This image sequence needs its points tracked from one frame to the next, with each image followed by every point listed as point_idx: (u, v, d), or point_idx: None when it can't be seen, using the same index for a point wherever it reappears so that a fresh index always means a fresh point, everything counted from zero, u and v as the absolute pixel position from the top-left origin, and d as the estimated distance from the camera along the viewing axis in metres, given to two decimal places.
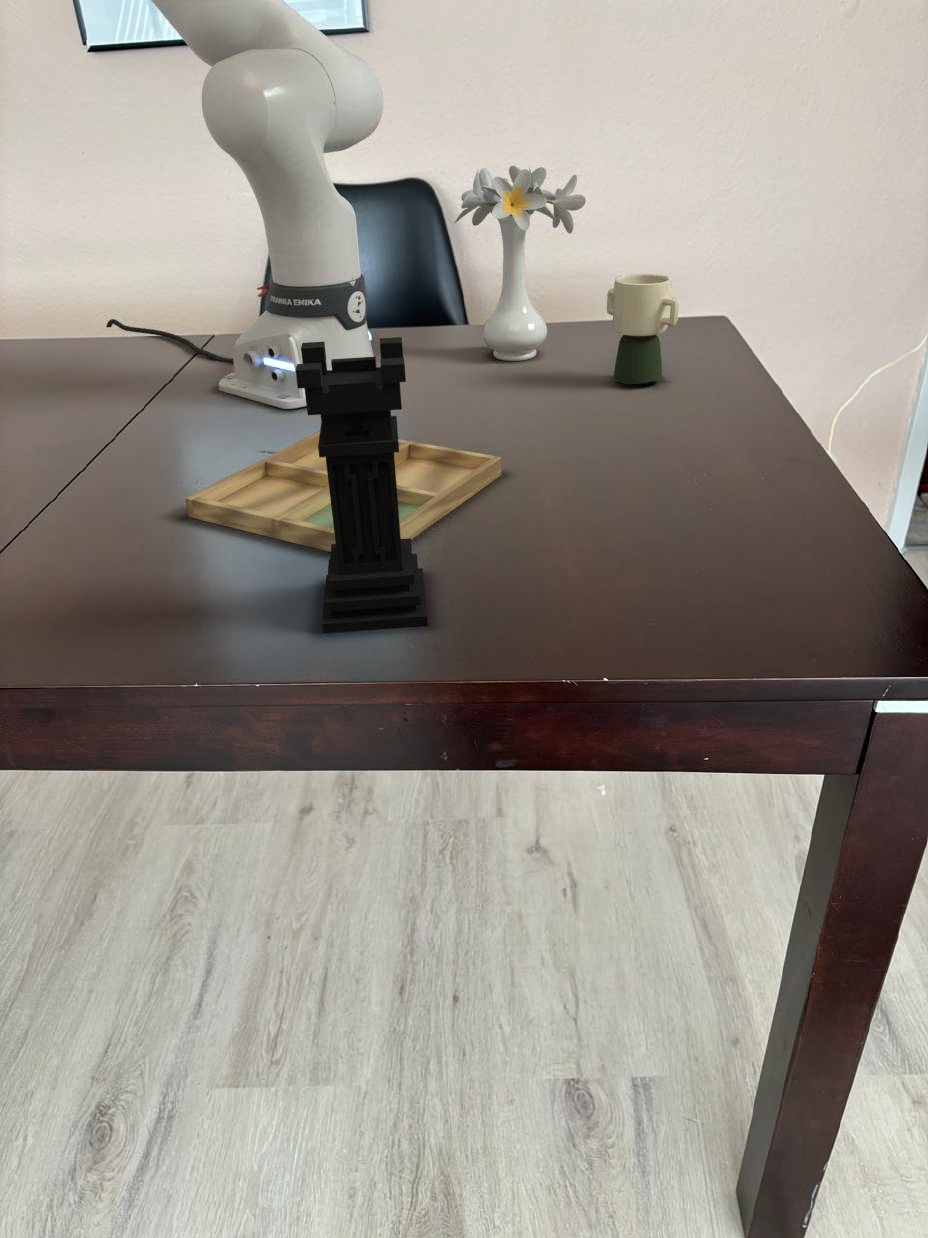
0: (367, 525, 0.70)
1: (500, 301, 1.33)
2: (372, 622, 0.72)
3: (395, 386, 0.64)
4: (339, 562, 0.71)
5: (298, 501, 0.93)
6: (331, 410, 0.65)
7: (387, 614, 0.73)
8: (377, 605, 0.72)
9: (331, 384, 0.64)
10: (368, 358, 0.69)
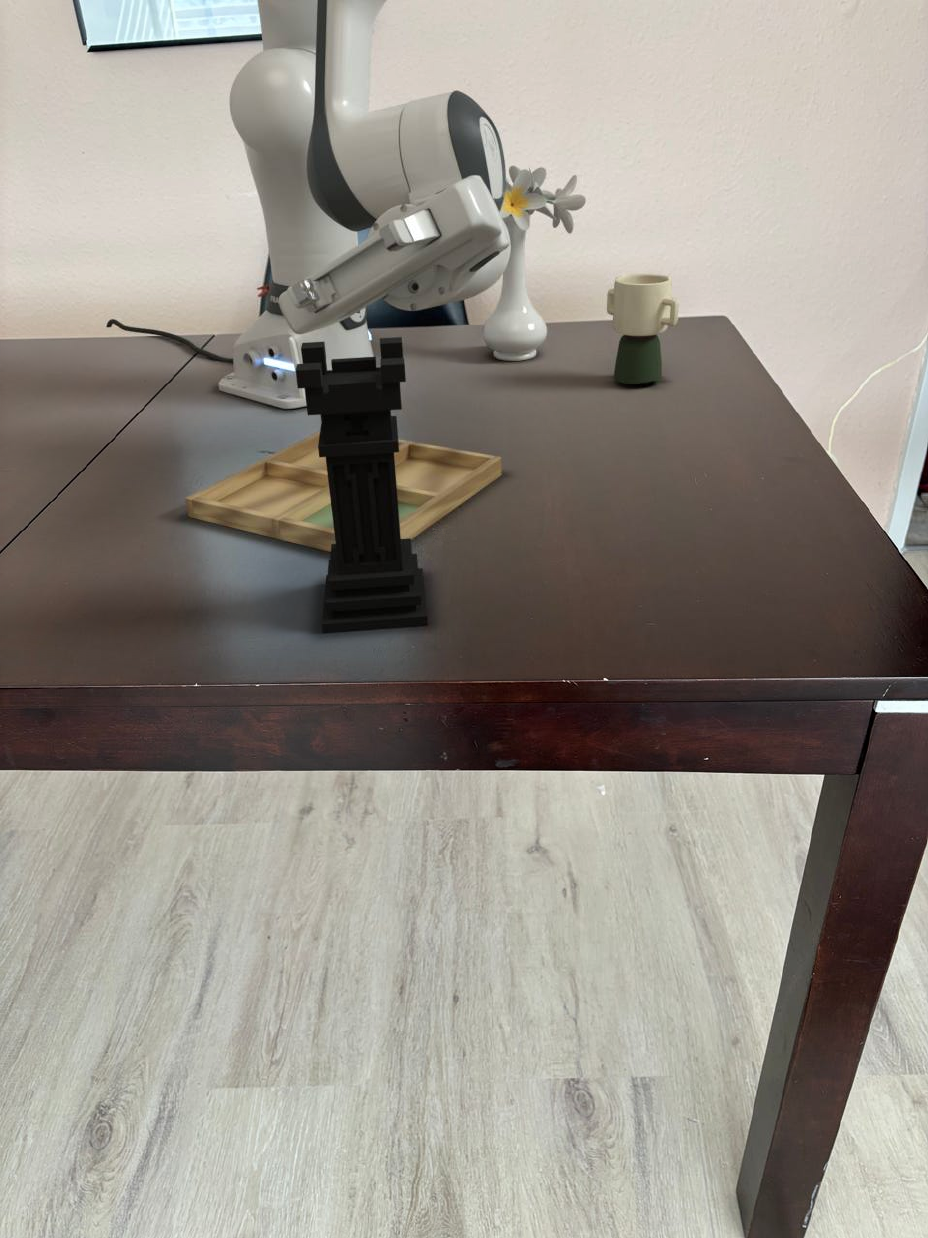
0: (367, 525, 0.70)
1: (500, 301, 1.33)
2: (372, 622, 0.72)
3: (395, 386, 0.64)
4: (339, 562, 0.71)
5: (298, 501, 0.93)
6: (331, 410, 0.65)
7: (387, 614, 0.73)
8: (377, 605, 0.72)
9: (331, 384, 0.64)
10: (368, 358, 0.69)
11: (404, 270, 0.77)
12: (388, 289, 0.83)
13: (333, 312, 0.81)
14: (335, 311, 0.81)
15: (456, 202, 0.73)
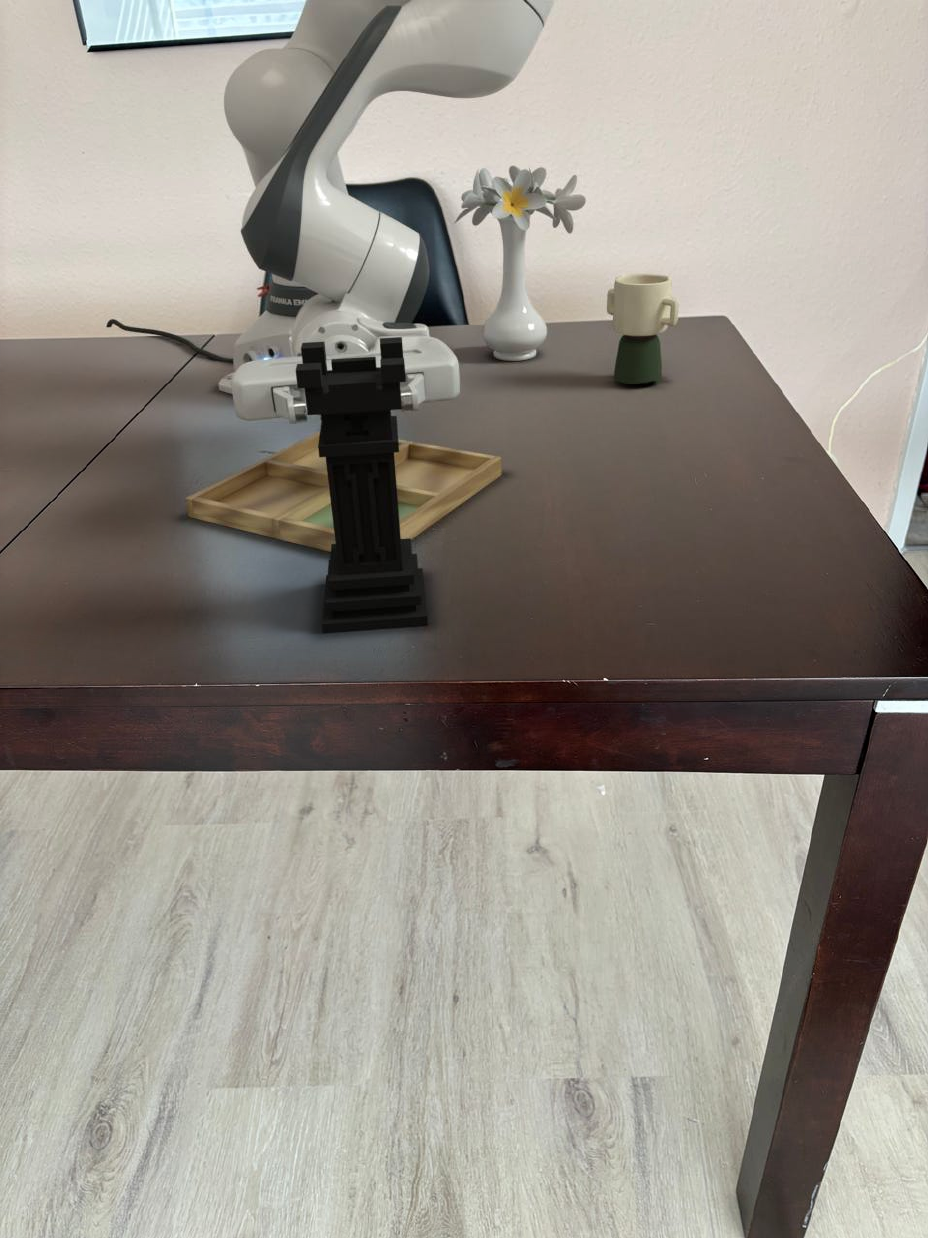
0: (367, 525, 0.70)
1: (500, 301, 1.33)
2: (372, 622, 0.72)
3: (395, 386, 0.64)
4: (339, 562, 0.71)
5: (298, 501, 0.93)
6: (331, 410, 0.65)
7: (387, 614, 0.73)
8: (377, 605, 0.72)
9: (331, 384, 0.64)
10: (368, 358, 0.69)
11: None
12: None
13: None
14: None
15: (448, 377, 0.85)
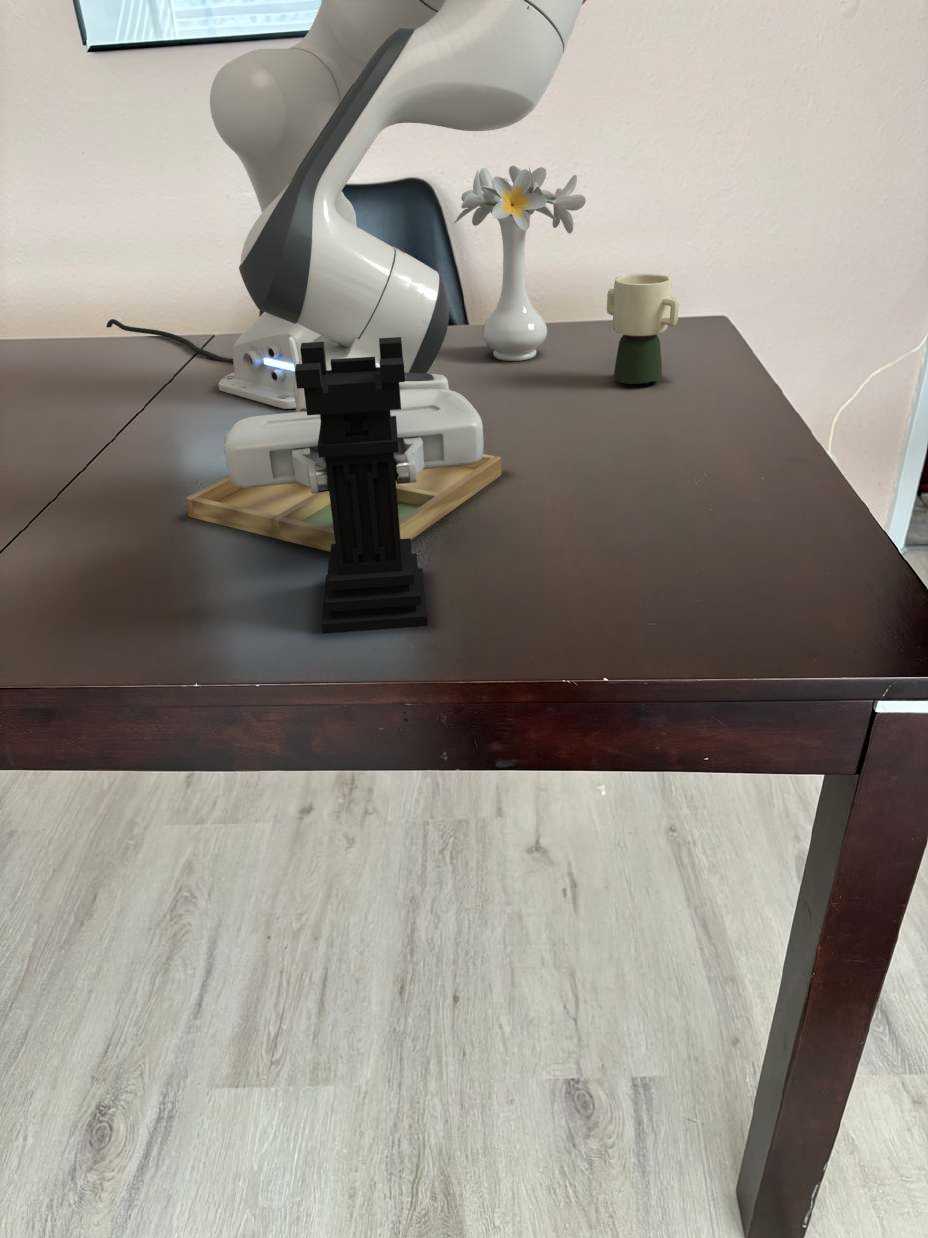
0: (366, 525, 0.70)
1: (500, 301, 1.33)
2: (372, 622, 0.72)
3: (394, 386, 0.64)
4: (339, 562, 0.71)
5: (298, 501, 0.93)
6: (330, 410, 0.65)
7: (386, 614, 0.73)
8: (377, 605, 0.72)
9: (330, 384, 0.64)
10: (367, 358, 0.69)
11: None
12: None
13: (292, 482, 0.74)
14: None
15: (470, 440, 0.75)
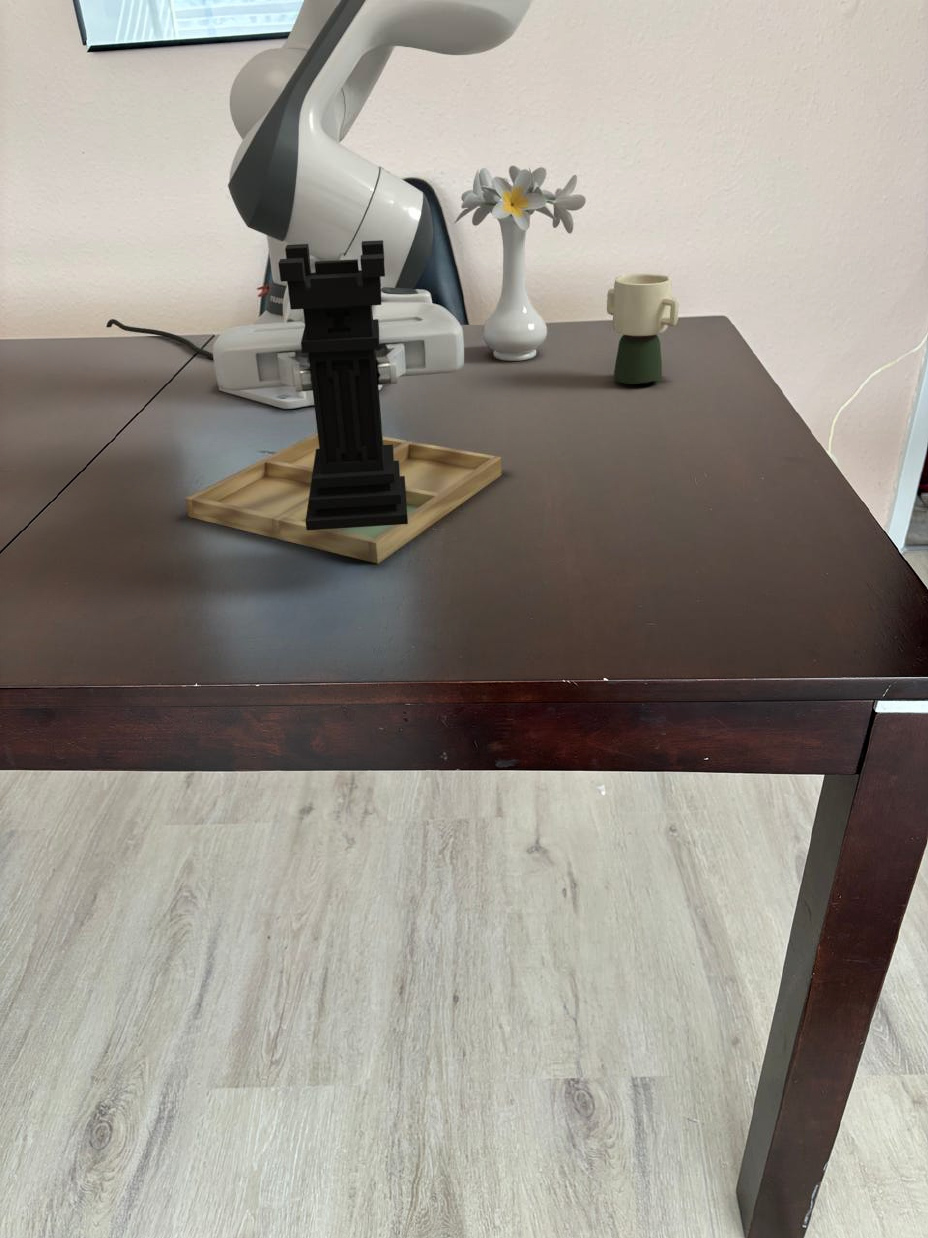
0: (349, 423, 0.73)
1: (500, 301, 1.33)
2: (354, 520, 0.75)
3: (375, 281, 0.67)
4: (322, 460, 0.74)
5: (298, 501, 0.93)
6: (313, 304, 0.67)
7: (368, 513, 0.75)
8: (359, 503, 0.75)
9: (313, 278, 0.66)
10: (350, 260, 0.71)
11: None
12: None
13: (278, 386, 0.77)
14: (281, 386, 0.77)
15: (451, 347, 0.77)
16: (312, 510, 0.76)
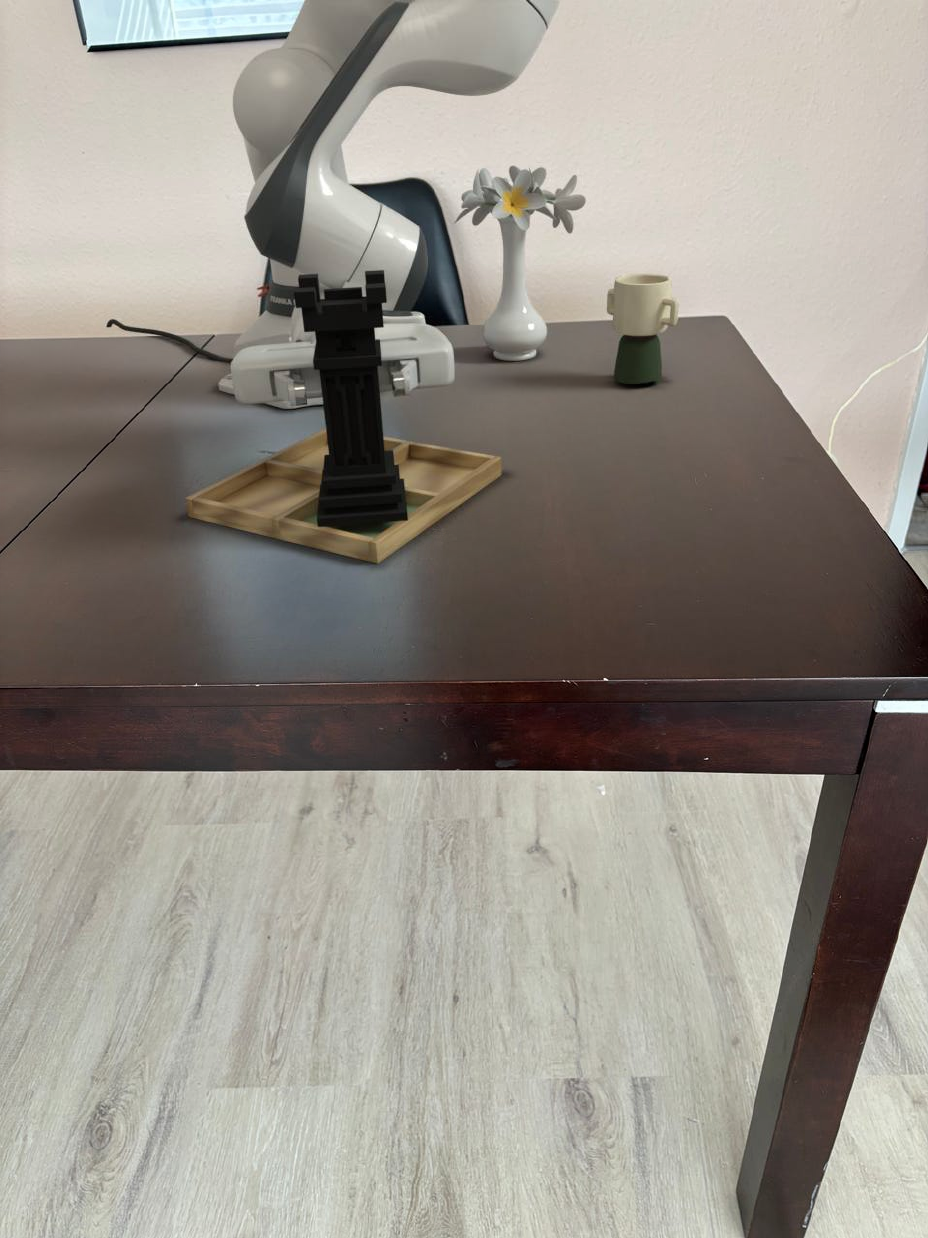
0: (355, 431, 0.82)
1: (500, 301, 1.33)
2: (360, 517, 0.84)
3: (378, 307, 0.76)
4: (331, 464, 0.83)
5: (298, 501, 0.93)
6: (324, 327, 0.77)
7: (372, 511, 0.85)
8: (364, 502, 0.84)
9: (324, 305, 0.76)
10: (355, 288, 0.81)
11: None
12: None
13: None
14: None
15: (443, 363, 0.87)
16: (322, 509, 0.86)
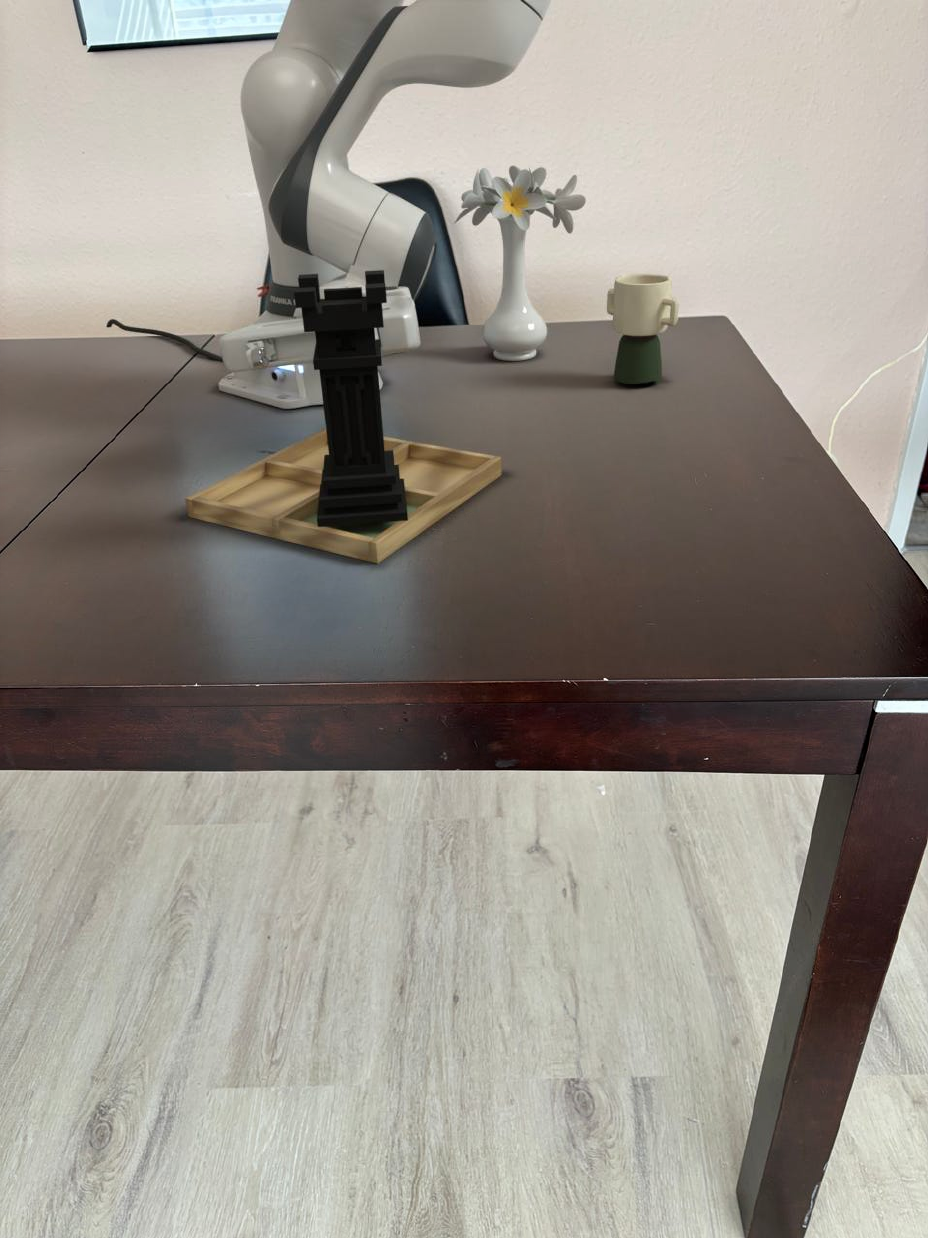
0: (355, 431, 0.82)
1: (500, 301, 1.33)
2: (360, 517, 0.84)
3: (378, 307, 0.76)
4: (331, 464, 0.83)
5: (298, 501, 0.93)
6: (324, 327, 0.77)
7: (372, 511, 0.85)
8: (364, 502, 0.84)
9: (324, 305, 0.76)
10: (355, 288, 0.81)
11: None
12: None
13: (269, 367, 0.96)
14: (271, 367, 0.96)
15: (400, 328, 0.92)
16: (322, 509, 0.86)
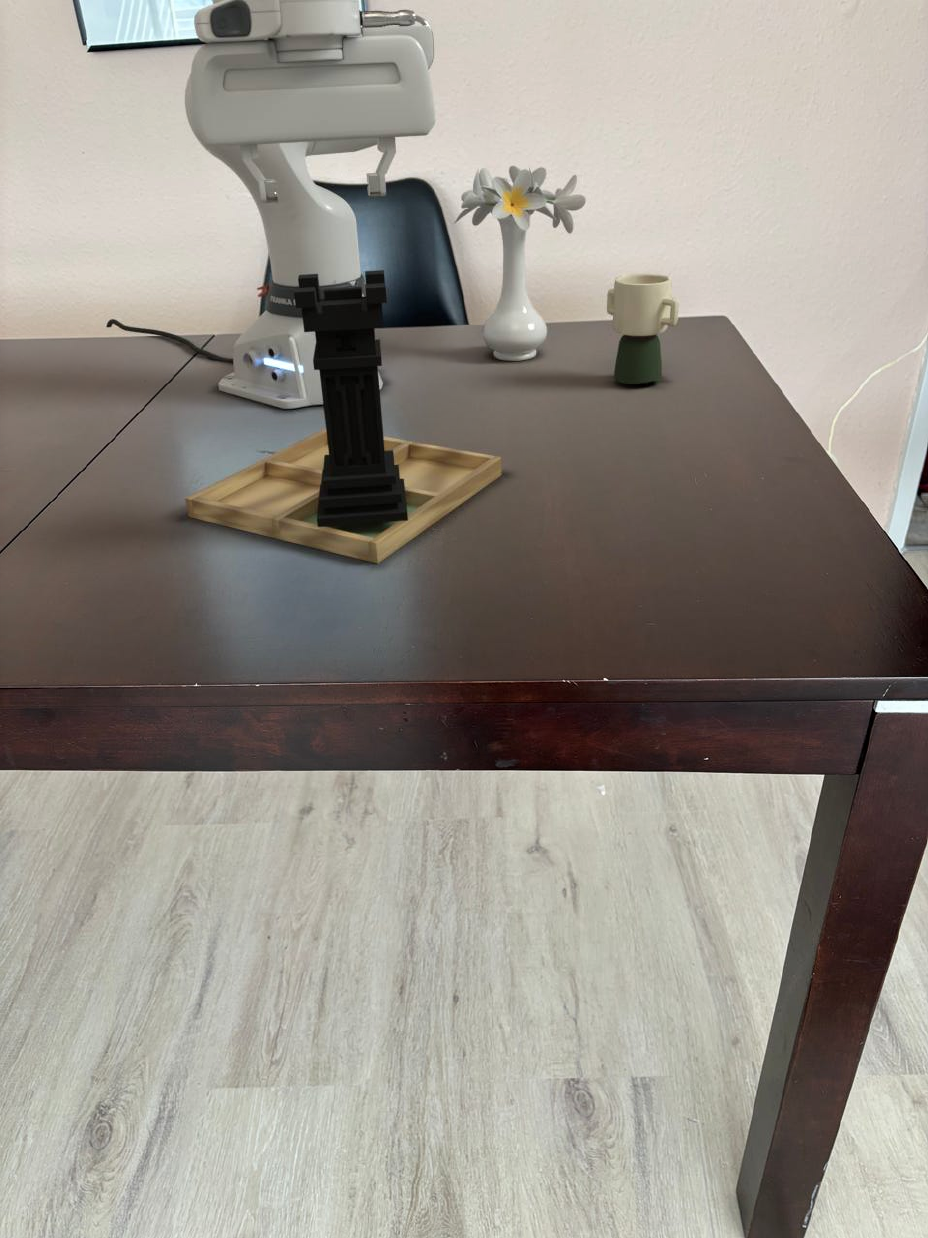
0: (355, 431, 0.82)
1: (500, 301, 1.33)
2: (360, 517, 0.84)
3: (378, 307, 0.76)
4: (331, 464, 0.83)
5: (298, 501, 0.93)
6: (324, 327, 0.77)
7: (372, 511, 0.85)
8: (364, 502, 0.84)
9: (324, 305, 0.76)
10: (355, 288, 0.81)
11: (290, 134, 0.79)
12: (337, 64, 0.77)
13: (381, 132, 0.80)
14: (378, 131, 0.80)
15: None
16: (322, 509, 0.86)
